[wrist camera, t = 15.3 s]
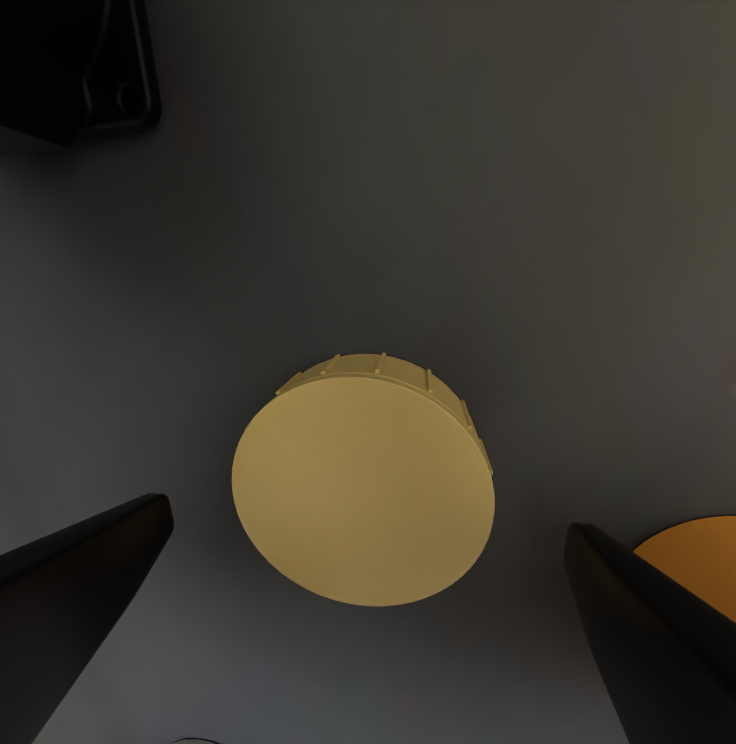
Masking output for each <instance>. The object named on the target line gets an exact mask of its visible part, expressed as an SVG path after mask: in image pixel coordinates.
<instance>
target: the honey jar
mask: <svg viewBox="0 0 736 744" xmlns="http://www.w3.org/2000/svg"><path fill="white" fill-rule="evenodd" d="M633 552H634V553H635V554H637V555H638V556H640V557H641V558H643V559H644V560H646V561H647V562H648V563H650V564H651V565H653V566H654V567H656V568H657V569H659V570H660V571H662V572H663V573H664V574H666V575H667V576H669V577H670V578H672V579H673V580H675V581H676V582H677V583H679V584H680V585H682V586H683V587H685V588H686V589H688V590H689V591H690V592H692V593H693V594H695V595H696V596H698V597H699V598H701V599H702V600H703V601H705V602H706V603H708V604H709V605H711V606H712V607H714V608H715V609H717V610H718V611H719V612H721V613H722V614H724V615H725V616H727V617H728V618H730V619H731V620H732V621H734V622H735V623H736V516H716V517H708V518H702V519H696V520H692V521H689V522H685V523H681V524H679V525H676V526H673V527H671V528H668V529H666V530H664V531H662V532H660V533H658V534H656V535H654V536H652V537H651V538H649V539H648V540H646V541H645V542H643V543H642V544H641V545H639V546H638V547H637V548H636V549H635V550H633Z"/></svg>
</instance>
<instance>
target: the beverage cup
mask: <svg viewBox="0 0 736 744" xmlns="http://www.w3.org/2000/svg"><path fill="white" fill-rule="evenodd" d="M174 744H215V743H212V742H208V741H204V740H199V739H184V740H181V741H178V742H175V743H174Z"/></svg>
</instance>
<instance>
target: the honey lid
mask: <svg viewBox="0 0 736 744" xmlns="http://www.w3.org/2000/svg"><path fill="white" fill-rule="evenodd" d="M275 393H276V395H277V396H275V397H274V398H273V399H272V400H271V401H270V402H269V403H268V404H266V405H265V406H264V407H263V408H262V409H261V410H260V411H259V412H258V413H257V414H256V415H255V416H254V418H253V419H252V421H251V422H250V423H249V424H248V426H247V428H246V429H245V431H244V433H243V435H242V437H241V439H240V441H239V443H238V446H237V449H236V452H235V455H234V461H233V467H232V490H233V498H234V502H235V506H236V510H237V513H238V516H239V518H240V521H241V523H242V525H243V527H244V529H245V531H246V533H247V534H248V536H249V538H250V540H251V541H252V542H253V544H254V545H255V546H256V548H257V549H258V551H259V552H260V553H261V554H262V555H263V556H264V557H265V558H266V559H267V561H268V562H269V563H270V564H272V565H273V566H274V567H275V568H276V569H277V570H278V571H279V572H281V573H282V574H283V575H285V576H286V577H288V578H289V579H290V580H292V581H293V582H295V583H297V584H299V585H300V586H302V587H304V588H305V589H307V590H310V591H312V592H314V593H316V594H318V595H321V596H324V597H327V598H330V599H333V600H336V601H340V602H344V603H349V604H355V605H362V606H393V605H400V604H406V603H411V602H414V601H418V600H421V599H424V598H427V597H429V596H431V595H434V594H436V593H438V592H440V591H442V590H444V589H445V588H447V587H449V586H450V585H452V584H453V583H454V582H456V581H457V580H458V579H459V578H461V577H462V576H463V575H464V574H465V573H466V572H467V571H468V570H469V569H470V568H471V567H472V566H473V564H474V563H475V562H476V560H477V559H478V557H479V556H480V554H481V553H482V551H483V549H484V547H485V545H486V543H487V541H488V539H489V535H490V532H491V529H492V525H493V520H494V512H495V496H494V488H493V483H492V478H491V475H493V471H492V468H491V465H490V462H489V459H488V456H487V454H486V451H485V448H484V445H483V442H482V439H479V438H478V436H477V433H476V430H475V427H474V424H473V422H472V419H471V417H470V416H469V413H468V410H467V407H466V404H465V402H464V400H461V401H460V400H459V398H458V397H457V396H456V395H455V394H454V393H453V392H452V390H451V389H450V388H449V387H448V386H447V385H446V384H444V383H443V382H442V381H441V380H439V379H438V378H437V377H436V376H434V375H433V374H431V370H430V369H427V370H424V369H423V368H421V367H419V366H417V365H414V364H412V363H410V362H407V361H404V360H401V359H398V358H394V357H390V356H386V353H382V355H378V354H353V355H345V356H340V354H337V355H336V356H335V357H334V358H332V359H329V360H327V361H324V362H321V363H319V364H317V365H315V366H313V367H311V368H310V369H308V370H306V371H305V372H304V373H301V372H299V373H297V374H296V375H295V376H294V377H293V378H291V379H290V380H289V381H288V382H287V383H286V384H284V385H283V386H282V387H281V388H280V389H279V390H278V391H276V392H275Z"/></svg>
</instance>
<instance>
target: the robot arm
mask: <svg viewBox="0 0 736 744" xmlns="http://www.w3.org/2000/svg"><path fill="white" fill-rule="evenodd" d="M136 95H138V96H139V105H138V107H137V109H136V110H135V111H134V110H133V99H134V97H135V96H136ZM160 116H161V101H160V94H159V88H158V82H157V76H156V70H155V64H154V58H153V52H152V46H151V40H150V34H149V28H148V22H147V16H146V10H145V4H144V0H0V156H6V155H17V154H28V153H40V152H51V151H62V150H71V149H72V148H73V147H74V146H75V145H76V144H77V143H78V142H79V139H78V137H82V136H92V135H103V134H114V133H124V132H135V131H145V130H149V129H152V128H154V127H155V125H156V124H157V123H158V122H159V119H160ZM173 528H174V520H173V515H172V511H171V506H170V502H169V498H168V497H167V496H166V495H165V494H157V493H148V494H145V495H143V496H140V497H138V498H136V499H133V500H131V501H129V502H126V503H124V504H121V505H119V506H117V507H114V508H112V509H109V510H107V511H105V512H102V513H100V514H98V515H95V516H93V517H90V518H88V519H86V520H83V521H81V522H79V523H76V524H74V525H71V526H69V527H67V528H64V529H62V530H59V531H57V532H55V533H52V534H50V535H48V536H45V537H43V538H40V539H38V540H36V541H33V542H31V543H29V544H26V545H24V546H21V547H19V548H17V549H14V550H12V551H9V552H7V553H5V554H2V555H0V744H32V742H33V741H34V740H35V738H36V737H37V735H38V734H39V732H40V731H41V730H42V728H43V727H44V725H45V724H46V722H47V721H48V720H49V718H50V717H51V715H52V714H53V713H54V711H55V710H56V708H57V707H58V705H59V704H60V703H61V701H62V700H63V698H64V697H65V695H66V694H67V693H68V691H69V690H70V688H71V687H72V685H73V684H74V683H75V681H76V680H77V678H78V677H79V675H80V674H81V673H82V671H83V670H84V668H85V667H86V665H87V664H88V663H89V661H90V660H91V658H92V657H93V655H94V654H95V653H96V651H97V650H98V648H99V647H100V646H101V644H102V643H103V641H104V640H105V638H106V637H107V636H108V634H109V633H110V631H111V630H112V628H113V627H114V626H115V624H116V623H117V621H118V620H119V618H120V617H121V616H122V614H123V613H124V611H125V610H126V608H127V607H128V605H129V604H130V602H131V601H132V599H133V598H134V596H135V595H136V593H137V592H138V590H139V588H140V587H141V585H142V583H143V582H144V580H145V578H146V576H147V575H148V573H149V571H150V570H151V568H152V566H153V565H154V563H155V561H156V559H157V558H158V556H159V554H160V553H161V551H162V549H163V548H164V546H165V544H166V543H167V541H168V539H169V537H170V536H171V534H172V531H173ZM564 566H565V570H566V573H567V576H568V579H569V583H570V586H571V589H572V592H573V595H574V598H575V602H576V605H577V608H578V611H579V614H580V618H581V621H582V624H583V627H584V630H585V634H586V637H587V640H588V643H589V646H590V649H591V652H592V654H593V657H594V659H595V662H596V664H597V667H598V669H599V672H600V674H601V676H602V679H603V681H604V684H605V686H606V688H607V691H608V693H609V695H610V698H611V700H612V703H613V705H614V707H615V710H616V712H617V714H618V717H619V719H620V722H621V724H622V726H623V729H624V731H625V734H626V736H627V738H628V741H629V743H630V744H736V623H735V622H734V621H732V620H731V619H730V618H728V617H727V616H725V615H724V614H722V613H721V612H719V611H718V610H717V609H715V608H714V607H712V606H711V605H709V604H708V603H706V602H705V601H703V600H702V599H701V598H699V597H698V596H696V595H695V594H693V593H692V592H690V591H689V590H688V589H686V588H685V587H683V586H682V585H680V584H679V583H677V582H676V581H675V580H673V579H672V578H670V577H669V576H667V575H666V574H664V573H663V572H662V571H660V570H659V569H657V568H656V567H654V566H653V565H651V564H650V563H648V562H647V561H646V560H644V559H643V558H641V557H640V556H638V555H637V554H635V553H634V552H633V551H631V550H630V549H628V548H627V547H625V546H624V545H622V544H621V543H620V542H618V541H617V540H615V539H614V538H612V537H611V536H609V535H608V534H607V533H605V532H604V531H602V530H601V529H599V528H598V527H596V526H595V525H593V524H587V523H571V524H570V525H569V527H568V531H567V537H566V543H565V549H564Z"/></svg>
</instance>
